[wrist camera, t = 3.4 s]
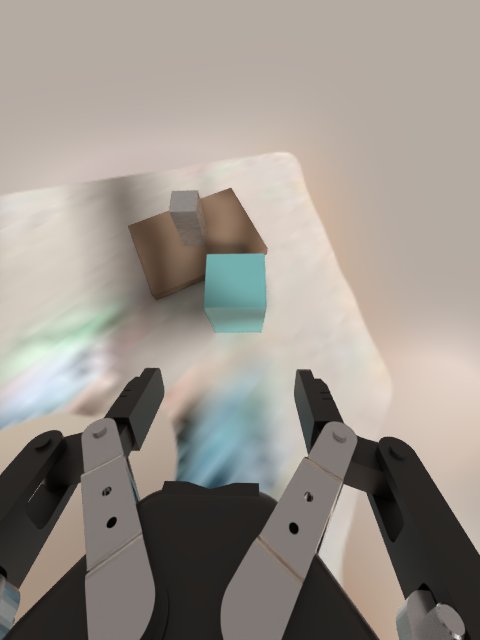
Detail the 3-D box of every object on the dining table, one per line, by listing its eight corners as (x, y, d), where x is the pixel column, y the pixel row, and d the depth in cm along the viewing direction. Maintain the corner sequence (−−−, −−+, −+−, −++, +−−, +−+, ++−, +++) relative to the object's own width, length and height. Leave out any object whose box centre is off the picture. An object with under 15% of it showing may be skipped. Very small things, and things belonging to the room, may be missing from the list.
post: (183, 246, 31) (169, 211, 25) (185, 228, 32) (171, 191, 26) (205, 245, 31) (196, 211, 25) (206, 227, 32) (197, 190, 26)
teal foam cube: (215, 332, 28) (203, 307, 20) (217, 291, 30) (206, 254, 22) (261, 332, 28) (266, 307, 20) (260, 290, 29) (264, 253, 22)
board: (156, 299, 30) (152, 295, 28) (132, 232, 33) (127, 226, 32) (266, 253, 31) (267, 248, 30) (231, 194, 35) (231, 187, 34)
